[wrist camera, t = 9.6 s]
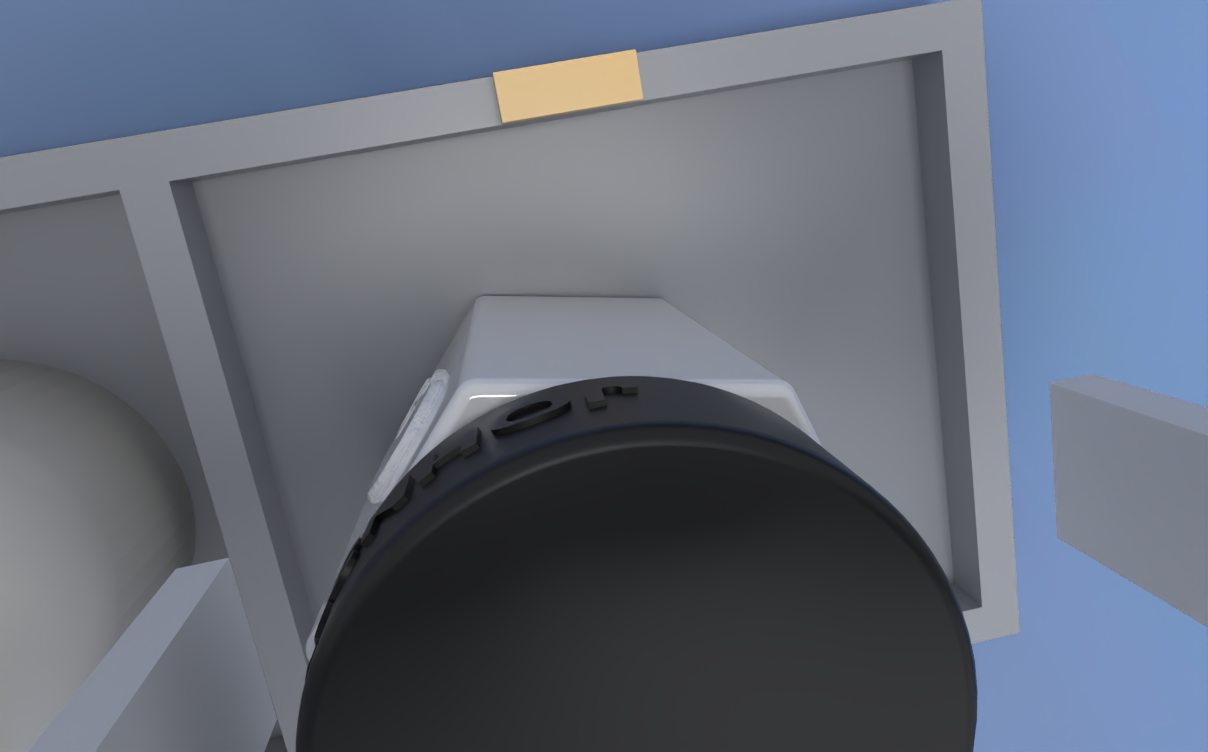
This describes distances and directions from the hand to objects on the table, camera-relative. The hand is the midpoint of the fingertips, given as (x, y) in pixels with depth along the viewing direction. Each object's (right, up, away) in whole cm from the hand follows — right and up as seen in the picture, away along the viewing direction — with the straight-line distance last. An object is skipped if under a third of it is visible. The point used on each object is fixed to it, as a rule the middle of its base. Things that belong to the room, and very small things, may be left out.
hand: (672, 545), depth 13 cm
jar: (-2, +1, +8) cm, 9 cm away
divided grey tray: (-6, +1, +8) cm, 10 cm away
